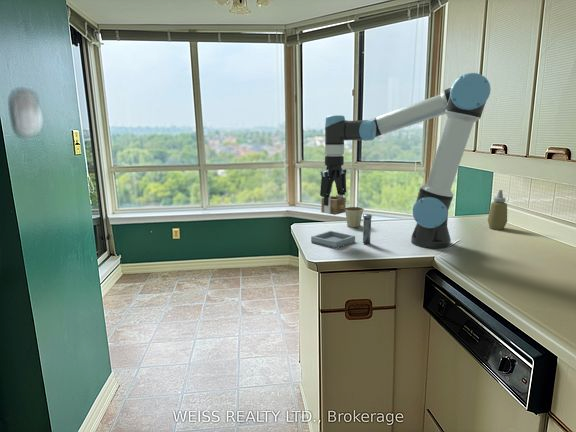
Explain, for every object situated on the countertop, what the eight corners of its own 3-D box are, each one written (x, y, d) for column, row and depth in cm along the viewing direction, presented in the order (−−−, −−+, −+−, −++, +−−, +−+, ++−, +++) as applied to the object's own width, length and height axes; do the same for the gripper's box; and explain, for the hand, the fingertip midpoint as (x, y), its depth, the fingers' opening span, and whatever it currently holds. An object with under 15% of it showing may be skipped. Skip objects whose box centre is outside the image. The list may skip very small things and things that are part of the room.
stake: (372, 243, 159) (373, 215, 157) (367, 245, 157) (368, 216, 154) (365, 241, 162) (366, 213, 159) (360, 243, 159) (361, 215, 157)
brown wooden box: (348, 212, 158) (348, 198, 157) (338, 215, 153) (338, 200, 152) (331, 209, 164) (332, 195, 163) (321, 212, 159) (321, 198, 158)
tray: (355, 241, 162) (355, 235, 162) (336, 248, 153) (336, 242, 152) (330, 236, 171) (330, 230, 170) (311, 242, 162) (311, 236, 161)
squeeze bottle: (483, 228, 181) (487, 190, 177) (490, 225, 186) (494, 188, 182) (502, 231, 175) (506, 192, 171) (509, 228, 180) (513, 190, 176)
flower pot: (344, 228, 184) (345, 210, 182) (342, 223, 193) (343, 206, 191) (364, 228, 183) (365, 210, 181) (361, 223, 193) (362, 206, 191)
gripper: (341, 153, 164) (340, 206, 169) (310, 156, 150) (310, 214, 155) (356, 154, 158) (354, 209, 164) (325, 157, 145) (325, 217, 150)
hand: (333, 211), depth 159 cm, fingers closed on brown wooden box, 7 cm apart
